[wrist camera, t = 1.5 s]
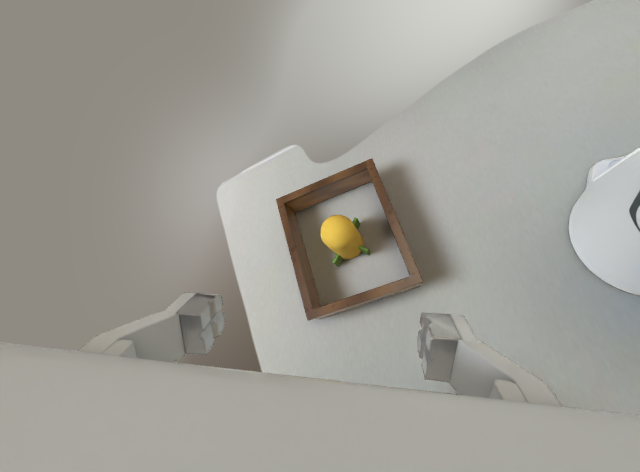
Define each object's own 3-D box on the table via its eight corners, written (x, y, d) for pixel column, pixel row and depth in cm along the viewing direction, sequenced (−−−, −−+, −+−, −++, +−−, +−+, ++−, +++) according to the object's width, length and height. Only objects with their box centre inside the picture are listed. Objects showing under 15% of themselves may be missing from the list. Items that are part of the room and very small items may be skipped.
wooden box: (376, 173, 46) (372, 158, 42) (422, 286, 40) (423, 282, 35) (288, 210, 49) (275, 199, 44) (318, 320, 42) (307, 320, 38)
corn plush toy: (359, 222, 45) (346, 200, 37) (371, 254, 43) (360, 239, 35) (327, 234, 46) (308, 216, 38) (337, 266, 44) (319, 254, 36)
